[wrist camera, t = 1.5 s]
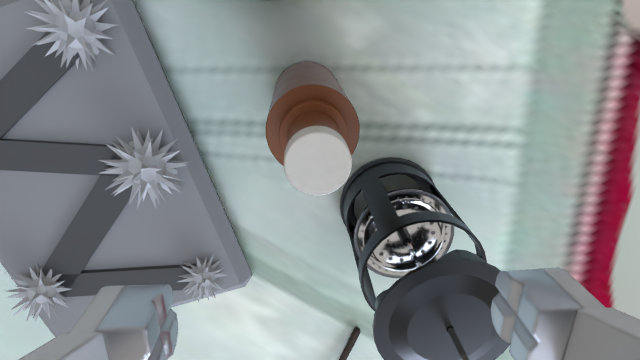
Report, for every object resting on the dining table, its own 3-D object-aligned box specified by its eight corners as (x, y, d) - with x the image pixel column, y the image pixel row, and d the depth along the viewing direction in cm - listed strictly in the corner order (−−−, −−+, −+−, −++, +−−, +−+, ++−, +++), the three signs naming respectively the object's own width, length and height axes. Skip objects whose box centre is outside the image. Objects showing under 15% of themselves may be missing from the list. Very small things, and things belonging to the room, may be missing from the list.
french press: (316, 188, 39) (344, 402, 18) (400, 132, 37) (543, 291, 16) (381, 271, 43) (468, 525, 22) (460, 223, 41) (637, 448, 20)
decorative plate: (-137, 44, 32) (-248, 53, 25) (120, -42, 31) (73, -57, 24) (64, 329, 43) (22, 386, 37) (256, 274, 42) (249, 323, 36)
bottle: (339, 60, 34) (380, 104, 18) (338, 125, 37) (374, 216, 20) (273, 61, 34) (253, 106, 18) (276, 126, 36) (261, 220, 20)
